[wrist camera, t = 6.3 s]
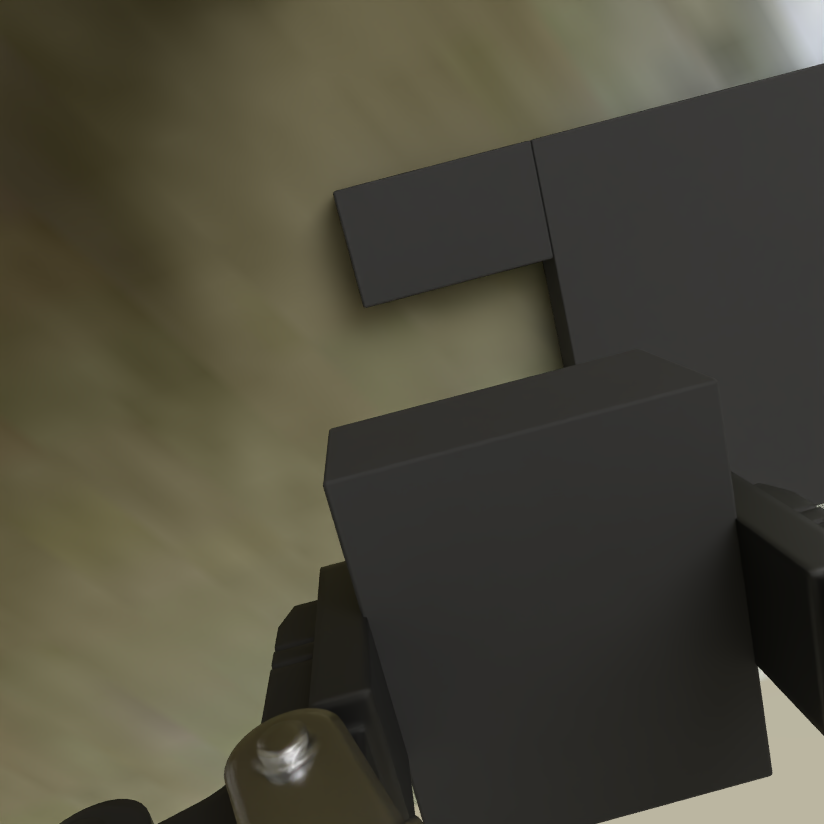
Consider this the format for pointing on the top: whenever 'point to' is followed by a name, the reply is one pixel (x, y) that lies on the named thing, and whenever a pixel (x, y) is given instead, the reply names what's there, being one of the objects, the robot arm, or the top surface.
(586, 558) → the pad
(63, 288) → the top surface
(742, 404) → the notched block
